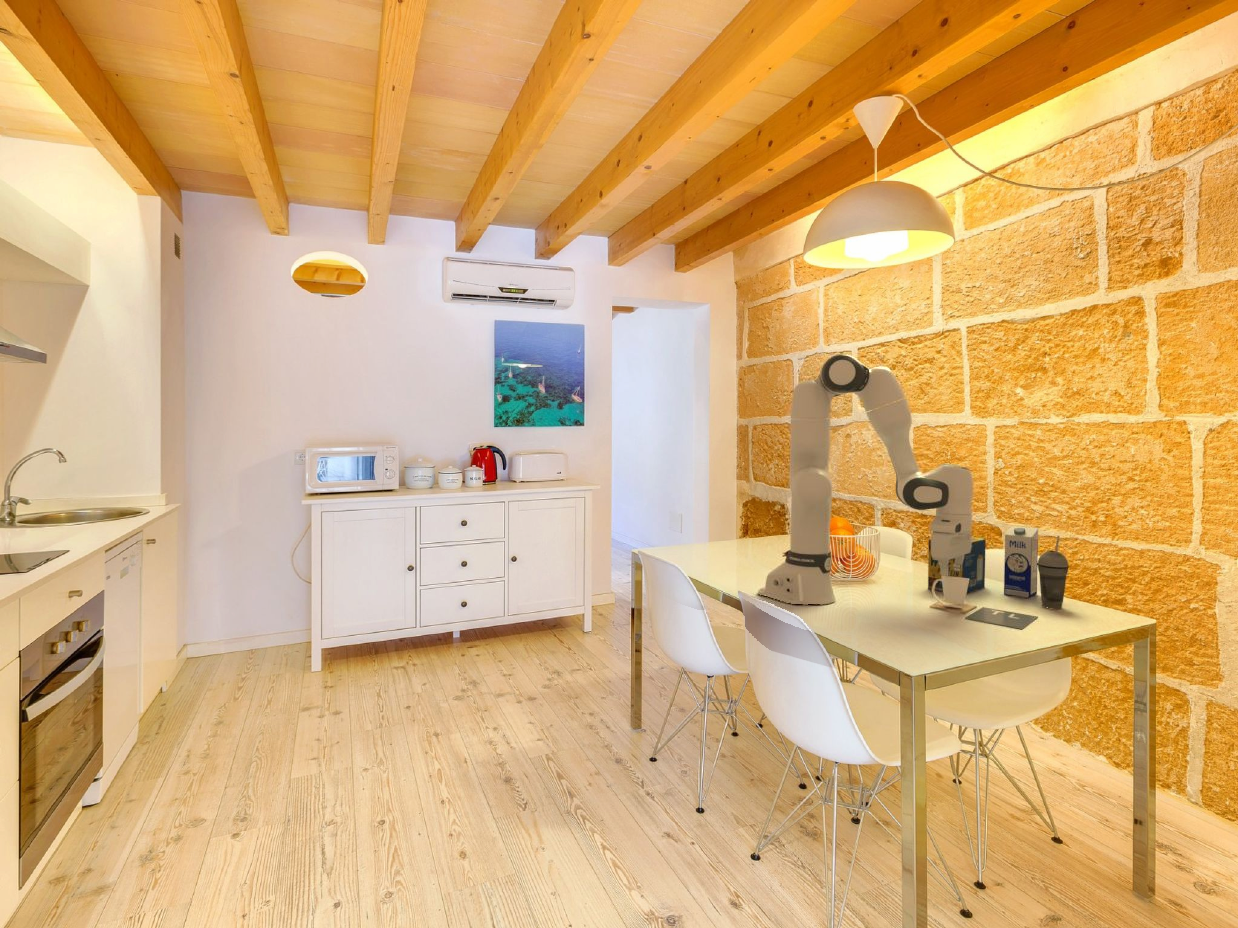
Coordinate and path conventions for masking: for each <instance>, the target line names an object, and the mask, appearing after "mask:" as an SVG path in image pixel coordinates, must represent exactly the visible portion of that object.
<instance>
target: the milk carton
mask: <svg viewBox="0 0 1238 928" xmlns="http://www.w3.org/2000/svg"><path fill="white" fill-rule="evenodd" d="M1039 530H1040V528H1038V527H1029V526H1028V527H1027V526H1018V525H1017V526H1015V525H1012V526H1010V527H1009V528H1007V530H1006V532H1005V533H1004V564H1003V565H1004V566H1003V567H1004V568H1003V569H1004V575H1003V581H1004V582H1003V595H1004V596H1005V595H1006V596H1010V597H1011V596H1012V597H1016V598H1017V597H1018V598H1023V599H1029V598H1030V599H1032V598H1033V597H1035V596H1037V595H1036V594H1038V565H1037V563H1038V560H1039V558H1038V556H1039V555H1038V553H1039Z"/></svg>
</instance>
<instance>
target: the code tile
mask: <svg viewBox="0 0 1238 928" xmlns="http://www.w3.org/2000/svg"><path fill="white" fill-rule="evenodd" d="M1036 618H1037V619H1038V618H1039V617H1038V616H1036V615H1029V614H1027V613H1020V612H1014V611H1008V610H1002V609H997V608H996V609H995V608H990V607H985V606H982V607H981V608H979V609H977V610H975V611H974V612H972V613H970V614H968V615H967V616H965V617H964V619H965V620H967V621H968V620H969V621H974V622H980V623H984V624H989V625H990V624H991V625H996V626H1001V627H1006V628H1010V629H1015V630H1016V629H1017V630H1023V629H1024V628H1026V627H1027V626H1029V625H1030V624H1031V623H1032V622H1034V621H1035V620H1037V619H1036Z"/></svg>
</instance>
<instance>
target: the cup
mask: <svg viewBox="0 0 1238 928" xmlns="http://www.w3.org/2000/svg"><path fill="white" fill-rule="evenodd" d="M938 581H942V585H943V592H942V593H943V598H944V599H943V600H945V602H948V603H955V604H965V600H966V597H967V594H968V593H967V589H968V584H969V579H968V578H959V577H950V576H942V579H937V580H936V581H935V582H934V583H933V586H932V590H931V592H932V593H931V594H932V596H933V597H934V599H936V601H937V602H940V603H941V604H943V605H945V606H949V607H956V608H963V607H962V606H956V605H947V604H944V603H943V602H942V601H941V600H942V599H940V598H939V597H938V596H937V595H936V592H935V591H936V590H935V585H936V583H937V582H938Z"/></svg>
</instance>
